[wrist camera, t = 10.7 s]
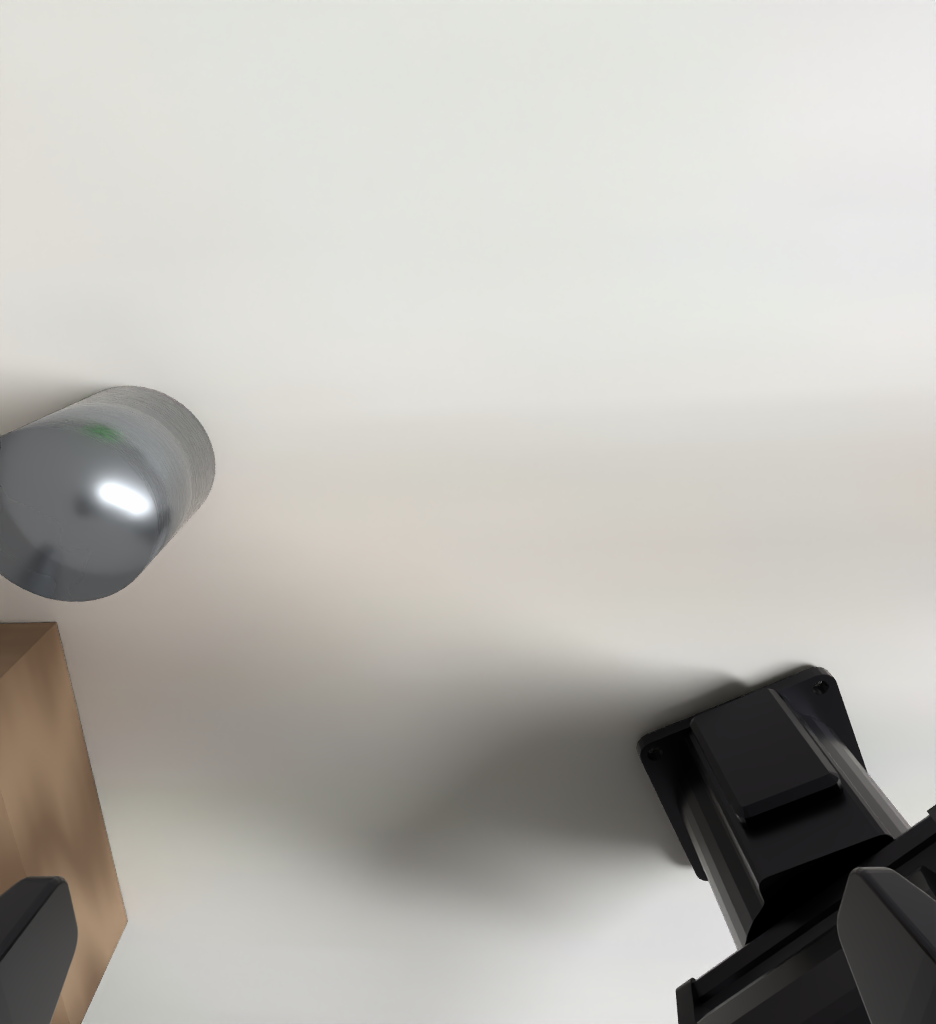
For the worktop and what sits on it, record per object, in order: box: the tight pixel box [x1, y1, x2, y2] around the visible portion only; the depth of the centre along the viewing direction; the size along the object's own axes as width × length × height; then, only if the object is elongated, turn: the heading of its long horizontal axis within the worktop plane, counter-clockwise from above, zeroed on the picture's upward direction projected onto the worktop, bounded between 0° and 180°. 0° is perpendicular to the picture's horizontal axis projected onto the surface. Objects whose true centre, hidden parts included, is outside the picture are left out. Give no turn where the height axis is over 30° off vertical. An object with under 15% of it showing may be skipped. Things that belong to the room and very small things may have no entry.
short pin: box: [0, 386, 215, 602], centre depth 18 cm, size 4×4×4 cm
